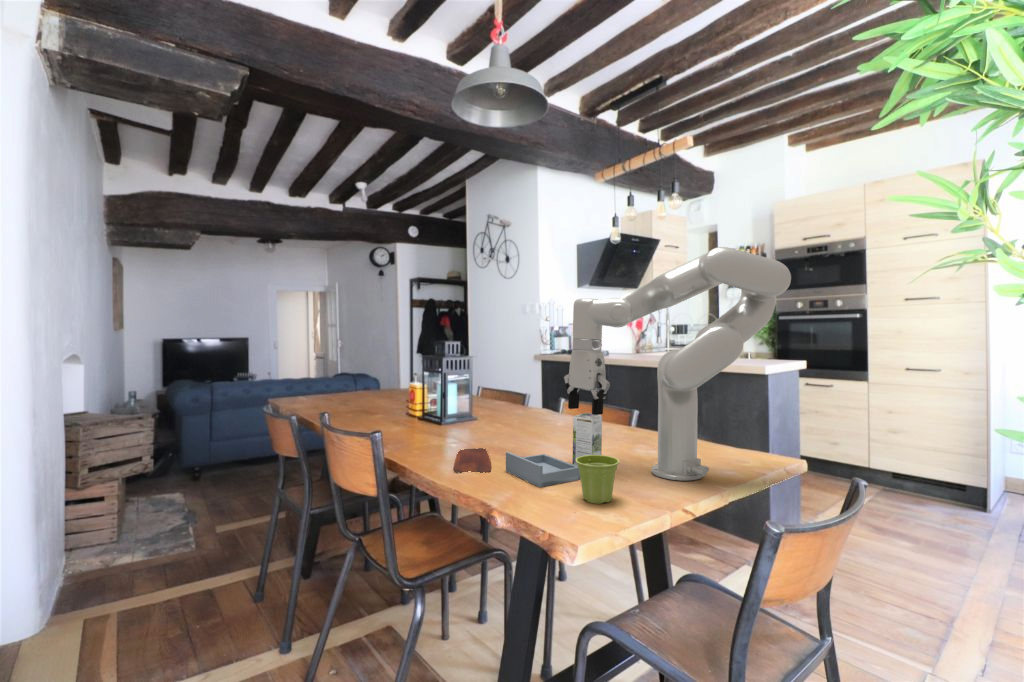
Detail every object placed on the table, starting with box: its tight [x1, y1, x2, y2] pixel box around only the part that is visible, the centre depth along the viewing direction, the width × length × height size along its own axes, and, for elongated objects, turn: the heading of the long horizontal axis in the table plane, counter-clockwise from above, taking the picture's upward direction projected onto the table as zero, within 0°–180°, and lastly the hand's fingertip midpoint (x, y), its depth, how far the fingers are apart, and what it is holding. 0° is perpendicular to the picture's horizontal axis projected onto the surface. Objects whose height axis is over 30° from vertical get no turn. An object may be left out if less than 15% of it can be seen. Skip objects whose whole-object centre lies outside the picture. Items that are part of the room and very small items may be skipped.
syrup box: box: [571, 412, 603, 466], centre depth 134 cm, size 6×6×14 cm
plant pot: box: [576, 454, 620, 505], centre depth 111 cm, size 9×9×9 cm
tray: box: [505, 451, 581, 488], centre depth 129 cm, size 16×12×5 cm
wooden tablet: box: [453, 447, 492, 474], centre depth 144 cm, size 27×10×2 cm, turn 4°
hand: (585, 411), depth 133 cm, fingers open, 9 cm apart
